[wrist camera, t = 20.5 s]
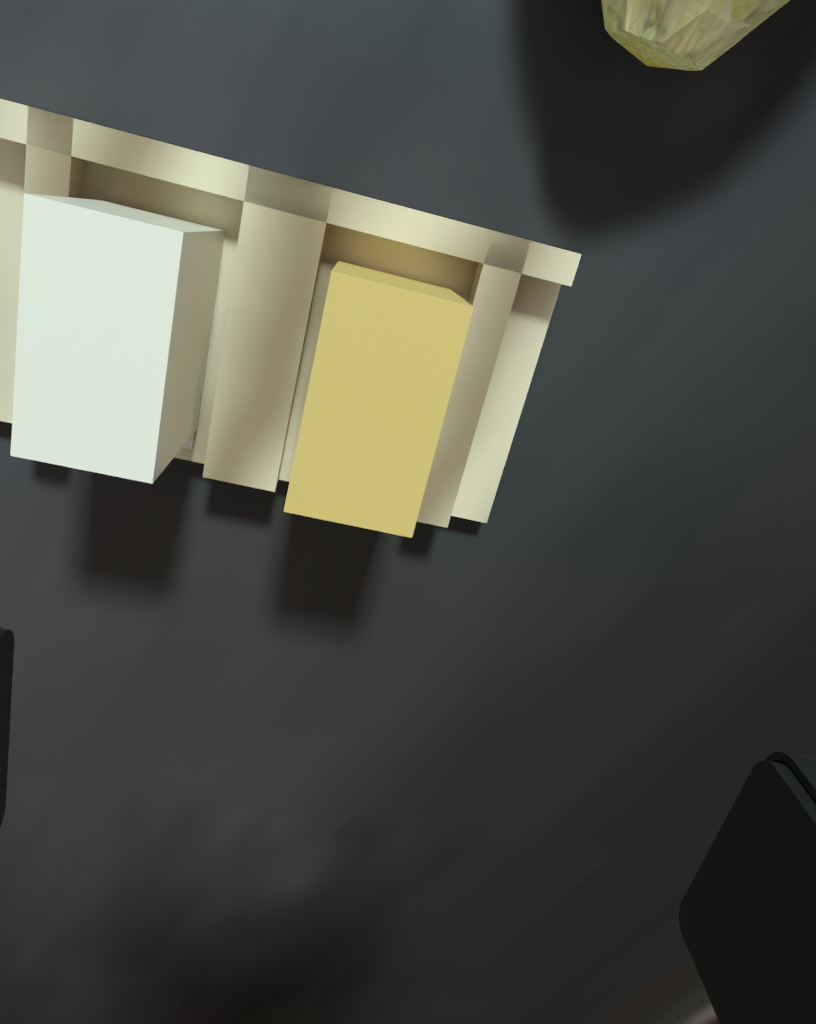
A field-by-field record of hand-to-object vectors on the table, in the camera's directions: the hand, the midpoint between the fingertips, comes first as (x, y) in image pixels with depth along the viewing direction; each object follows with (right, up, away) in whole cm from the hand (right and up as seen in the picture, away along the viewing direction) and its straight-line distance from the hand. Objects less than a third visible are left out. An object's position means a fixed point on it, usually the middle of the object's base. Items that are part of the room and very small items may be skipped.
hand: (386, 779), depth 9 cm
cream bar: (-10, +11, +20) cm, 25 cm away
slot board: (-5, +11, +22) cm, 25 cm away
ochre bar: (-1, +9, +21) cm, 23 cm away
